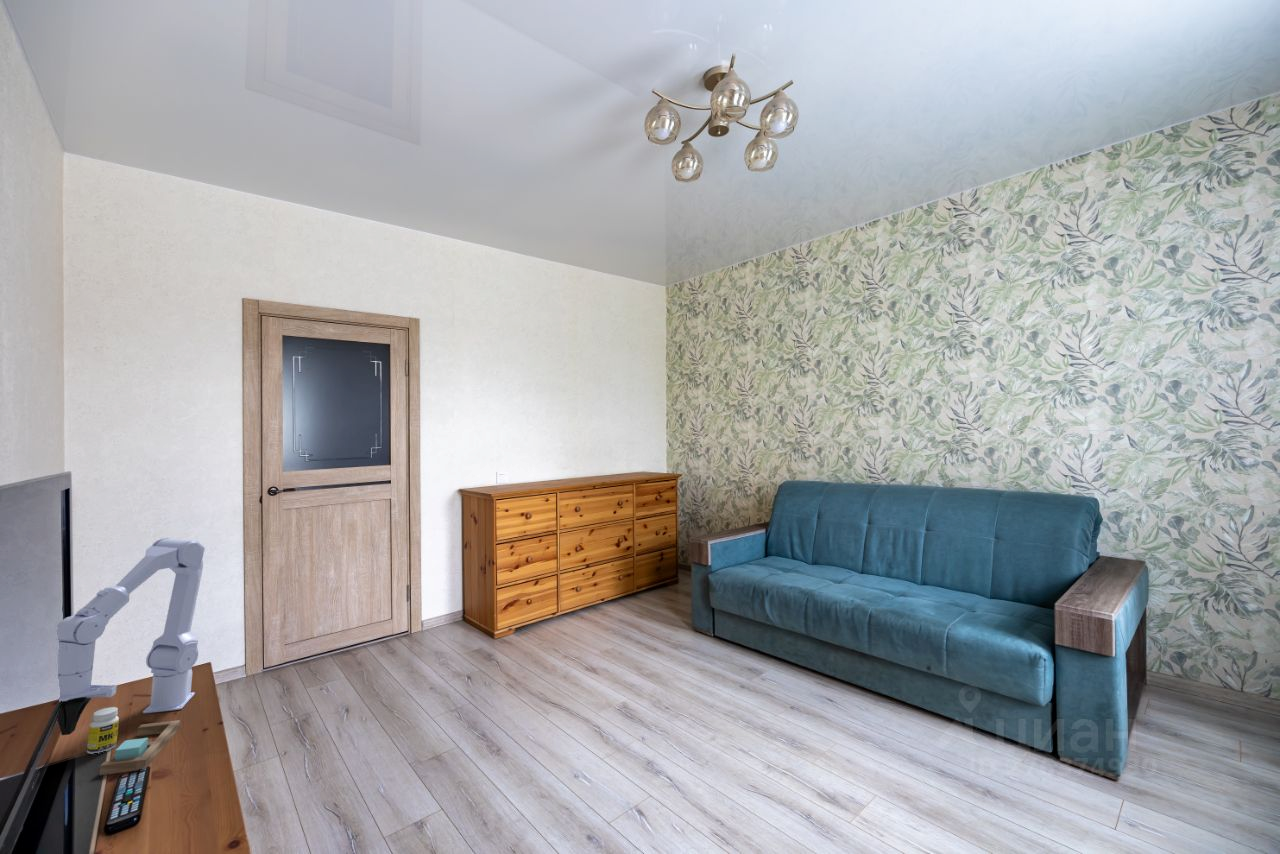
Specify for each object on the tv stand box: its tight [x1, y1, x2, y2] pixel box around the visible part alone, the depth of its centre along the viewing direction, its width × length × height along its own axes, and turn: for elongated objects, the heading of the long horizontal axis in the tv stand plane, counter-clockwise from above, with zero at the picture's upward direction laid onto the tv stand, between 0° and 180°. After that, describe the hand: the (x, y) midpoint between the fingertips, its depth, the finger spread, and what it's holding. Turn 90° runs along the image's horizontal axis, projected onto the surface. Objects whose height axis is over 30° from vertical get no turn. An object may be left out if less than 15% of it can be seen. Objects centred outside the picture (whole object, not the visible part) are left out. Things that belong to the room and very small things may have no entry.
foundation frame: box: [98, 719, 181, 776], centre depth 121 cm, size 18×8×2 cm, turn 22°
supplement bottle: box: [86, 706, 120, 755], centre depth 121 cm, size 5×5×8 cm
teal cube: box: [114, 737, 149, 760], centre depth 116 cm, size 4×4×4 cm
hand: (68, 732), depth 118 cm, fingers closed
